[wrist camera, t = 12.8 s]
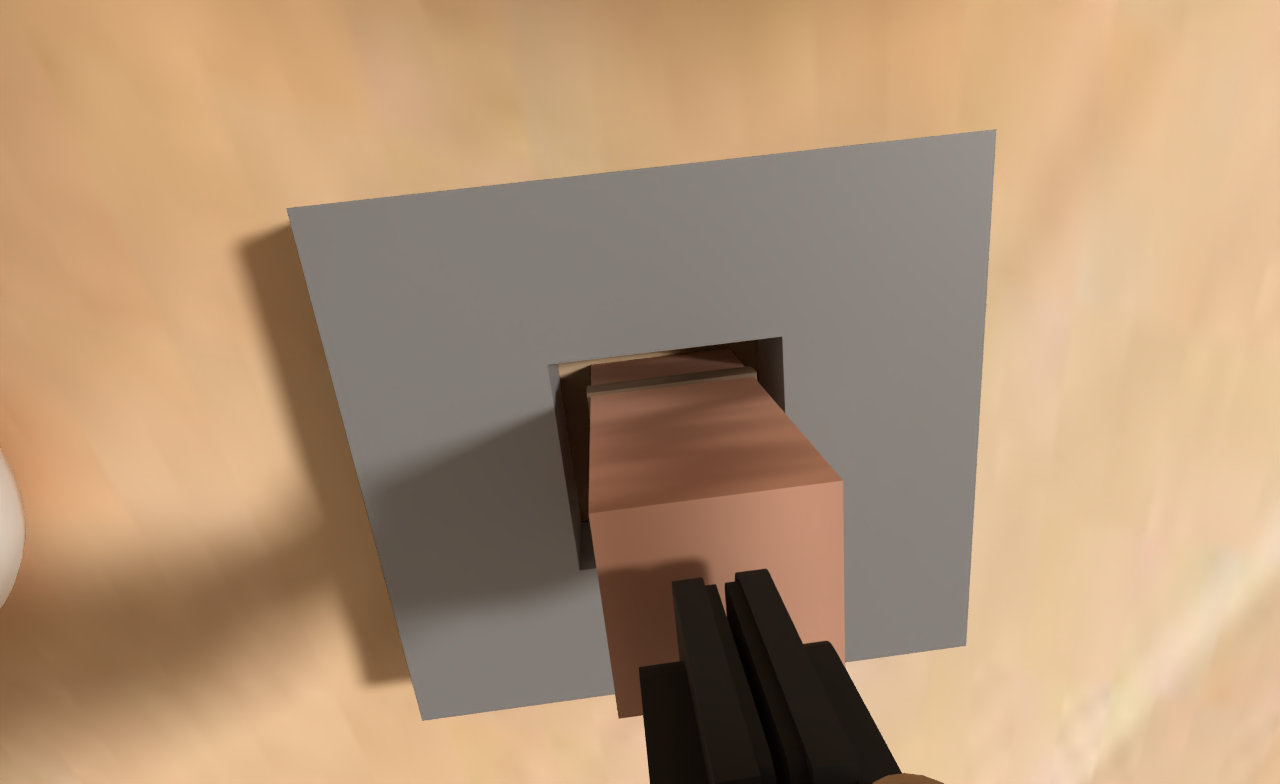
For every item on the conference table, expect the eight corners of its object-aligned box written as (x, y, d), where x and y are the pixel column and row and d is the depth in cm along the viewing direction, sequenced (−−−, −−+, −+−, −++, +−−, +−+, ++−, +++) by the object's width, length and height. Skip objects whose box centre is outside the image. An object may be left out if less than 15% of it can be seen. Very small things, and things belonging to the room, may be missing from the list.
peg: (731, 344, 21) (848, 474, 11) (740, 475, 22) (850, 690, 13) (587, 362, 21) (582, 509, 11) (605, 493, 22) (614, 722, 12)
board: (936, 138, 19) (996, 129, 16) (921, 591, 24) (965, 645, 21) (334, 206, 19) (286, 208, 16) (443, 656, 23) (422, 720, 21)
